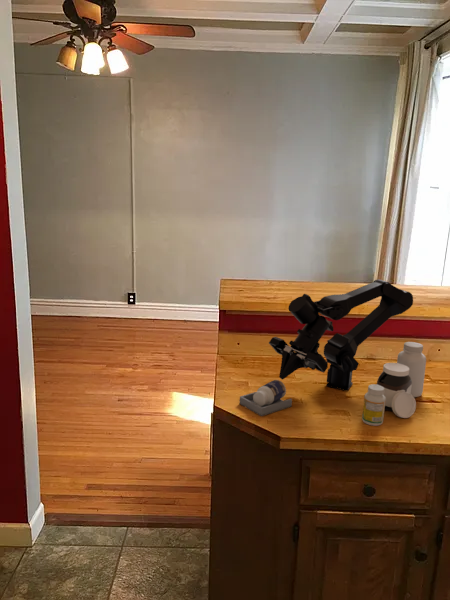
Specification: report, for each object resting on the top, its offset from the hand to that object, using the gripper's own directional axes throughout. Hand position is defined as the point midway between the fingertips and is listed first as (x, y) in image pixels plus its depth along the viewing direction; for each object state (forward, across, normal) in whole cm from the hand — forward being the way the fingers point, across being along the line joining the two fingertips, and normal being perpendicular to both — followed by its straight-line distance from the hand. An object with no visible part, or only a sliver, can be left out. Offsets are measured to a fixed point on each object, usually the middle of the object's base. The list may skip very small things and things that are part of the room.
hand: (280, 378), depth 149 cm
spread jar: (-11, -22, -21) cm, 33 cm away
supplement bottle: (-3, -23, -13) cm, 27 cm away
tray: (+8, 0, -1) cm, 9 cm away
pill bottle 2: (-21, -17, -31) cm, 41 cm away
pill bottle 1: (+2, +1, -3) cm, 4 cm away
